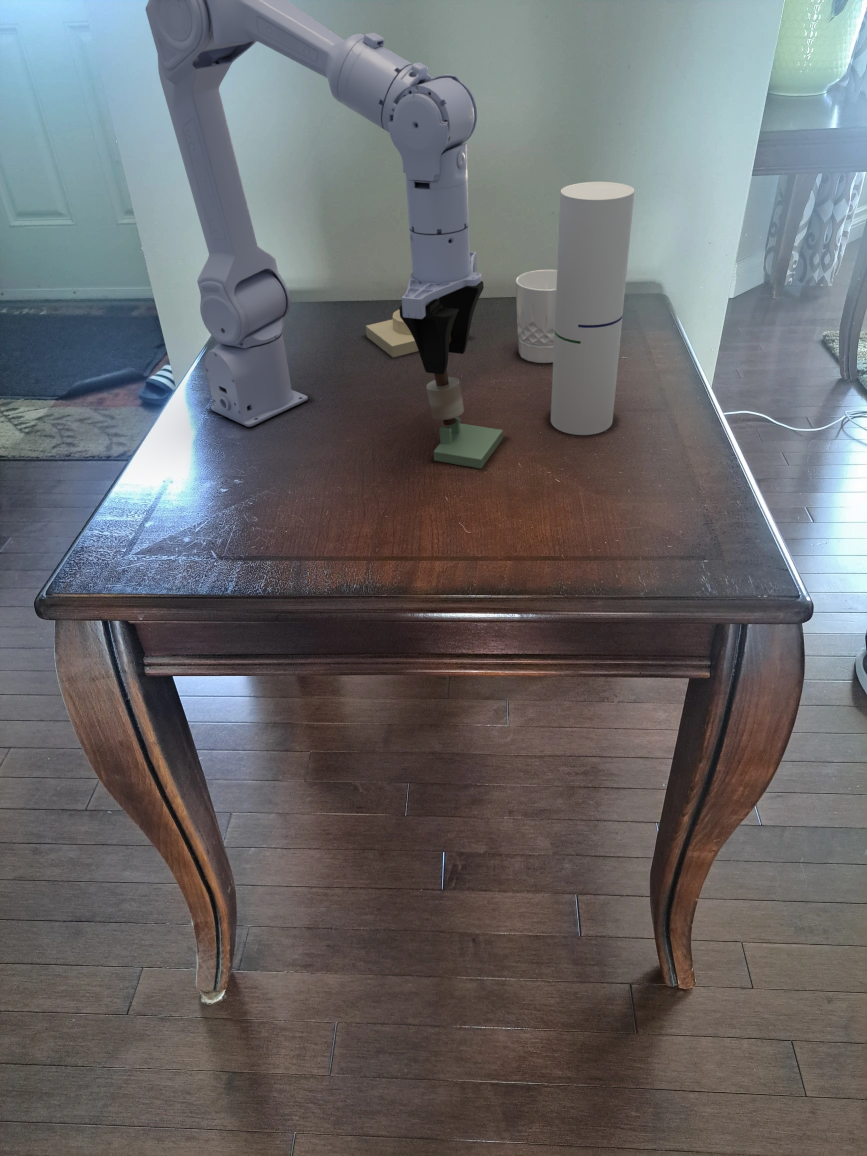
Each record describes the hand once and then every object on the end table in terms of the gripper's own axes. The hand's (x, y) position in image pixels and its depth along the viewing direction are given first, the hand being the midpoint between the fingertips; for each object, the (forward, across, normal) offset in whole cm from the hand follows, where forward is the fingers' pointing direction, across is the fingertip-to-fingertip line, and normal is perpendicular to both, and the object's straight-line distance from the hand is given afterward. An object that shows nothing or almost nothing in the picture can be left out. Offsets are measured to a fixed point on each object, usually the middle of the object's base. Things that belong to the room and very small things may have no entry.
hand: (445, 362), depth 87 cm
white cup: (+10, +28, -2) cm, 30 cm away
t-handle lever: (+3, 0, +2) cm, 3 cm away
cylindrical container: (+10, +11, -12) cm, 19 cm away
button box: (+10, +28, +17) cm, 34 cm away
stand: (+10, 0, -2) cm, 10 cm away
